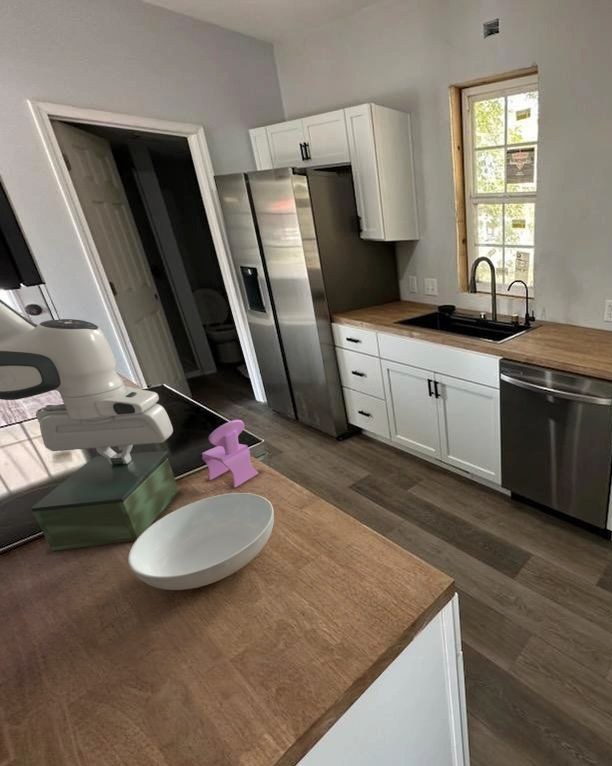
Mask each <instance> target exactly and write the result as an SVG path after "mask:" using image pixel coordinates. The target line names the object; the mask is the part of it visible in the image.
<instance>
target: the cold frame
mask: <svg viewBox="0 0 612 766" xmlns="http://www.w3.org/2000/svg"><path fill="white" fill-rule="evenodd" d="M179 492H180V490H179V488H178V484H177V482H176V478H175V475H174V471H173V470H172V466H171V463H170V460H169V458H167V457H166V458H165V459H164V460H163V461H162V462H161V463H160V464H159V465H158V466H157V467H156V468H155V469H154V470H153V471H152V472H151V473H150V475H149V476H148V477H147V478H146V479H145V480H144V481H143V482H142V483H141V484H140V485H139V486H138V487H137V488H136V489H135V490H134V491H133V492H132V493H131V494H130V496H129V497H128V498H127V499H126V500H125V501H124V502H120V503H110V504H101V505H91V506H82V507H73V508H63V509H54V510H45V511H35V512H33V511H32V514H33V515H34V517H35V519H36V521H37V523H38V526H39V527H40V529H41V532H42V534H43V536H44V538H45V540H46V542H47V545H48V546H49V548H50V550H51V551H53V552H54V551H55V552H56V551H63V550H71V549H78V548H86V547H94V546H102V545H110V544H118V543H125V542H135V541H136V540H137V539H138V537H139V536H140V535H141V534H142V533H143V532H144V531H145V530H146V529H148V528H149V527H150V526H151V525H153V524H154V523H155V522H156V520H157V518H158V517H159V516H160V515H161V514H162V512H164V510H165V509H166V508H167V506H169V504H170V503H171V502H172V501H173V500H174V498H175V497H176V496H177V495H178V494H179Z"/></svg>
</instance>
